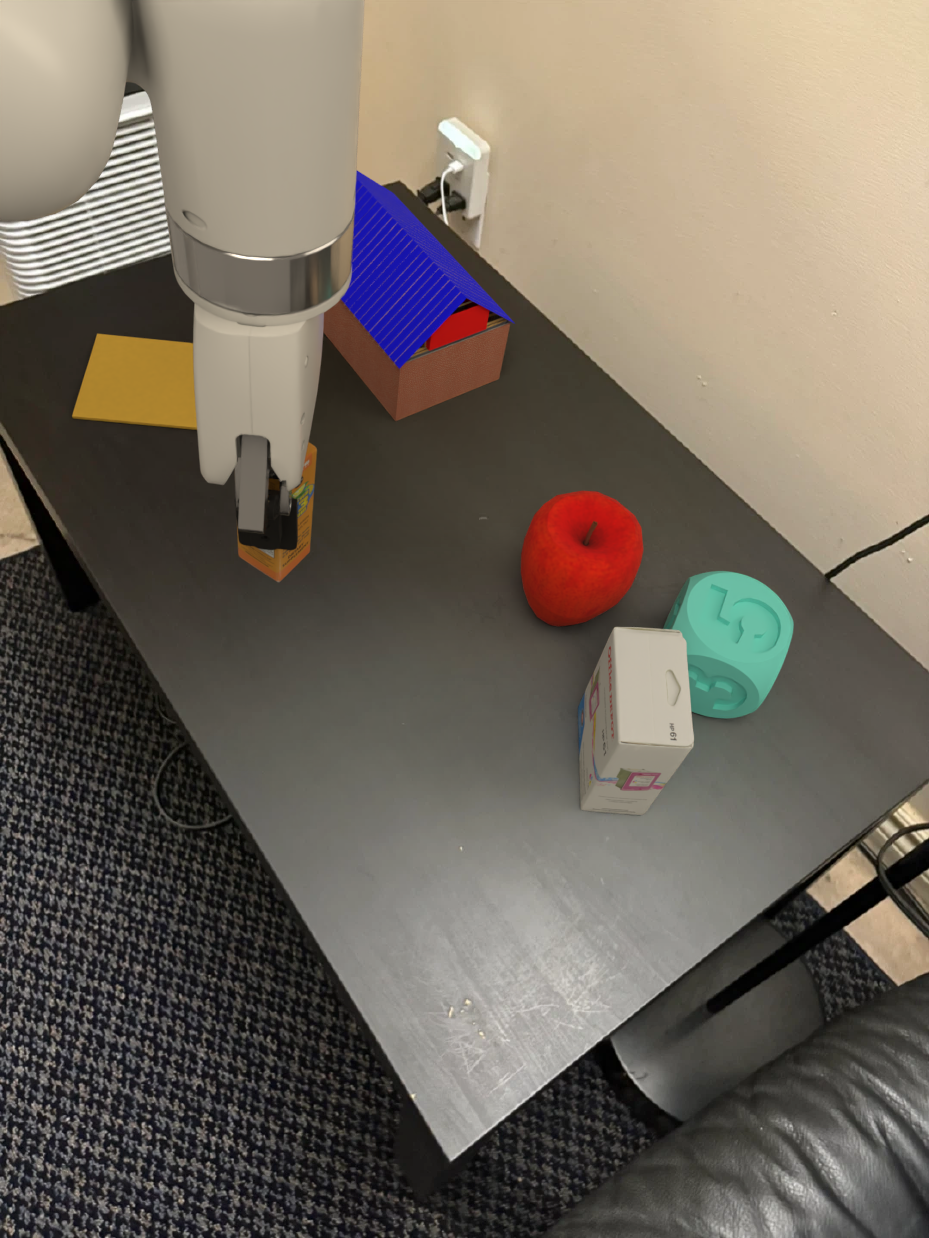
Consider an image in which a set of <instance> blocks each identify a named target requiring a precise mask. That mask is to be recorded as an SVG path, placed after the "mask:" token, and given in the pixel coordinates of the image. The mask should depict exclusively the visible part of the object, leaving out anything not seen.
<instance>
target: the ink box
mask: <svg viewBox="0 0 929 1238" xmlns="http://www.w3.org/2000/svg"><path fill="white" fill-rule="evenodd" d="M577 728H578V729H577V730H578V731H577V732H578V733H577V735H578V760H579V761H578V762H579V763H578V764H579V799H580V800H579V802H580V805H579V807H580V811H584V812H591V813H592V812H594V813H602V814H604V813H605V814H617V815H629V816H630V815H631V816H643V815H645V814H646V813H647V812H648V811H649V809H650V808H651V806H652V805H653V803H654V802H655V801H656V799H657V797H658V796H659V795H660V793H661V792H662V791H663V790H664V788H665V787H666V785H667V784H668V782H669V781H670V779H671V778H672V777H673V775H674V774H675V773H676V771H677V770H678V768H680V766H681V764H682V763H683V762H684V760H685V759H686V757H687V756H688V755H689V754H690V752H691V750H692V749H694V746H695V743H694V741H695V733H694V726H693V714H692V711H691V700H690V687H689V673H688V663H687V643H686V640H685V639H684V638H683V636H682V633H681V632H680V631H679V630H670V629H663V628H656V627H655V628H653V627H637V626H636V627H635V626H633V627H632V626H614V627H613V628H612V630H611V633H610V635H609V636H608V638H607V640H606V643H605V645H604V648H603V649H602V652H601V654H600V657H599V659H598V661H597V663H596V666H595V668H594V671H593V673H592V676H591V677H590V679H589V681H588V683H587V686H586V688H585V691H584V692H583V694H582V697H581V700H580V702H579V704H578V706H577Z"/></svg>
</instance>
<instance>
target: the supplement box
mask: <svg viewBox="0 0 929 1238" xmlns="http://www.w3.org/2000/svg"><path fill="white" fill-rule="evenodd" d="M317 454H318V449H317V447H316V445H314V444H312V443H311V442H310V441H309V442H308V446H307V451H306V456H305V461H304V466H303V471H302V477H301V481H300V484H299V485H298V486H296V487H295V488H294V489H292V498H294V499H297V505H298V542H297V548H296V549H294V550H284V549H276V550H265V549H259V548H256V547H254V546H246V545H242V544H241V543H240V542H239V538H238V528H237V527H236V535H237V553H238V554H237V555H238V557H239V558H240V559H242V560H243V561H245V562H246V563H247V564H249V565H251V566H252V567H253V568H255V569H257V570H258V571H260V572H261V573H263V574H264V575H266V576H267V577H269V578H270V579H272V580H273V581H275V582H277V583H280V582H281V581H282V580H284V578H285V577H286V576H287V575H289V574H290V572H292V571H293V570H294V568H296V566H298V564H300V563H301V561H302V560H303V559H305V558H306V557H307V555H309V553H310V552H311V539H312V538H311V537H312V525H313V511H314V497H315V480H316V470H317V469H316V467H317V456H318V455H317ZM233 471H234V472H235V470H233ZM268 489H270V490H279V480H278V479H269V486H268Z"/></svg>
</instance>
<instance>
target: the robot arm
mask: <svg viewBox="0 0 929 1238" xmlns="http://www.w3.org/2000/svg"><path fill="white" fill-rule="evenodd" d="M365 3H366V1H365V0H0V222H3V223H5V222H6V223H7V222H23V221H24V222H25V221H27V222H28V221H33V220H38V219H42V218H45V217H49V216H52V215H56V214H57V213H60V212H61V211H63V210H65V209H68V208H69V207H70V206H73V205H74V204H76V203H77V202H79V201H80V200H81V199H82V198H83V197H84V196H85V195H86V194H87V192H89V190H90V189H91V188H92V187H94V185H95V184H97V182H98V180H99V179H100V177H101V176H102V173H103V172H104V171H105V168H106V166H107V165H108V162H109V160H110V158H111V155H112V152H113V149H114V145H115V140H116V136H117V131H118V127H119V123H120V118H121V113H122V108H123V105H124V104H123V103H124V98H125V90H126V83H132V84H135V85H137V86H139V87H140V88H141V89H142V90H143V91H144V92H145V93H146V94H147V97H148V99H149V103H150V108H151V112H152V117H153V118H152V119H153V123H154V124H153V126H154V133H155V140H156V147H157V148H156V149H157V154H158V162H159V168H160V169H159V171H160V177H161V183H162V192H163V198H164V199H163V201H164V209H165V217H166V222H167V223H166V224H167V231H168V237H169V245H170V252H171V254H170V255H171V259H172V266H173V267H172V268H173V273H174V276H175V280H176V282H177V284H178V286H179V287H180V289H181V290H182V292H183V293H184V294H185V295H186V296H187V297H188V298H189V299H190V300H191V301H192V302H193V303H194V304H193V305H194V306H193V325H192V328H193V329H192V343H193V367H194V391H195V407H196V420H197V430H196V434H197V446H198V459H199V471H200V474H201V476H202V477H203V479H204V480H205V482H206V483H208V484H214V485H220V486H224V485H225V484H226V483H227V482H228V480H229V479H230V477H231V474H232V473H233V471H234V470H235V471H234V493H235V497H234V506H235V517H236V529H237V528H238V536H237V539H238V538H239V542H240V543H241V544H242V545H246V546H254V547H256V548H259V549H265V550H276V549H284V550H294V549H296V548H297V542H298V505H297V499H294V498H292V489H294V488H295V487H296V486H298V485H299V484H300V481H301V477H302V471H303V466H304V461H305V456H306V451H307V446H308V442H310V436H311V432H312V431H311V430H312V425H313V419H314V414H315V408H316V402H317V395H318V391H319V390H318V389H319V383H320V373H321V367H322V366H321V365H322V358H323V357H322V356H323V343H324V342H323V341H324V332H323V327H324V312H326V311H327V310H329V309H330V308H332V307H333V306H334V305H336V304H337V303H338V302H339V301H340V299H341V298H342V297H343V296H344V295H345V293H346V291H347V289H348V287H349V284H350V281H351V276H352V259H353V238H354V217H355V195H356V172H357V171H358V169H357V168H358V145H359V126H360V125H359V124H360V108H361V107H360V105H361V104H360V103H361V84H362V64H363V43H364V26H365V25H364V24H365V23H364V22H365V5H366V4H365ZM269 479H278V480H279V490H270V489H268V486H269Z"/></svg>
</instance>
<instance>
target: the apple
mask: <svg viewBox="0 0 929 1238" xmlns="http://www.w3.org/2000/svg"><path fill="white" fill-rule="evenodd" d="M643 554H644V540H643V530H642V526H641V524H640V523H639V521H638V519H637V516H636V515H635V514H634V513H632V512H631V511H630V510H629V509H628V508H626V507H625V506H624V505H623V504H621V502H619V501H618V500H617V499H616V498H613V497H611V496H608V495H606V494H604V493H602V492H599V491H595V490H577V491H572V492H567V493H560V494H556V495H555V496H553V497H551V499H549V500H547V501H546V502H545V503H543V504H542V506H541V507H540V508H539V509H538V510H537V511H536V512H535V513H534V515H533V516H532V519H531V521H530V523H529V526H528V528H527V531H526V533H525V536H524V538H523V542H522V548H521V553H520V576H521V583H522V589H523V592H524V594H525V597H526V601H527V603H528V605H529V608H531V610H532V612H533V613H534V615H535V616H536V618H537V619H539V620H541V621H543V622H544V623H546V624H548V625H549V626H552V627H553V626H554V627H566V626H567V627H568V626H574V625H578V624H583V623H586V622H589V621H591V620H593V619H594V618H596V617H598V616H600V615H602V614H604V613H606V612H608V611H609V610H611V609H612V608H613V607H615V606H617V605H618V603H620V601H621V600H622V599H623V598H624V597H625V596H626V594H627V593H628V592H629V591H630V589H631V588H632V586H633V583H634V582H635V579H636V577H637V574H638V571H639V569H640V566H641V564H642V559H643Z"/></svg>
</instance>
